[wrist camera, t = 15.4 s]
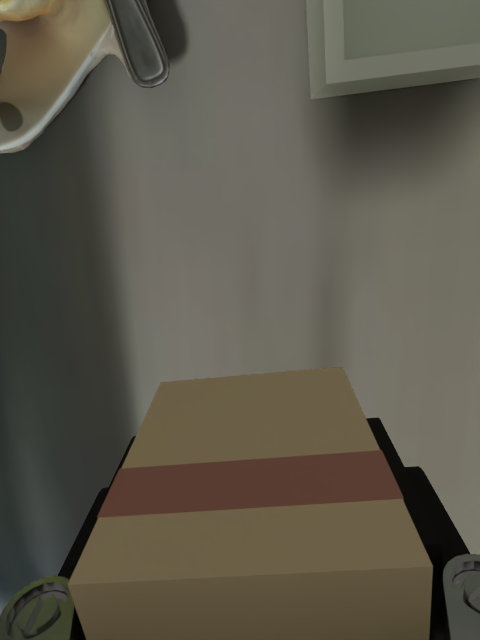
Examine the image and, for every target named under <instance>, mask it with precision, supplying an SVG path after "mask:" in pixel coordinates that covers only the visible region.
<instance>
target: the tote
mask: <svg viewBox="0 0 480 640" xmlns="http://www.w3.org/2000/svg"><path fill="white" fill-rule="evenodd" d="M306 15H307V36H308V56H309V77H310V98H311V99H318V98H326V97H334V96H342V95H350V94H358V93H366V92H374V91H381V90H389V89H397V88H405V87H413V86H421V85H429V84H437V83H444V82H452V81H460V80H468V79H476V78H480V0H306Z"/></svg>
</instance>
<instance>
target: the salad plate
mask: <svg viewBox="0 0 480 640" xmlns="http://www.w3.org/2000/svg"><path fill="white" fill-rule="evenodd" d="M0 29H2V30H3V31H4V32H5V33H6V35H7V48H6V56H5V60H4V63H3V66H2V72H1V75H0V153H14V152H18V151H21V150H24V149H25V148H27V147H28V146H29V145H30V144H31V143H32V142H33V141H35V140H36V139H37V138H38V137H39V136H40V135H41V134H42V133H43V131H44V130H45V129H46V128H47V127H48V125H49V124H50V123H51V122H52V121H53V120H54V119H55V117H56V116H57V115H58V114H59V113H60V112H61V110H62V109H63V108H64V107H65V106H66V104H67V103H68V102H69V100H70V99H71V98H72V97H73V96H74V94H75V93H76V92H77V90H78V89H79V87H80V85H81V84H82V82H83V80H84V79H85V77H86V76H87V75H88V74H89V73H90V71H91V70H92V69H93V68H94V67H96V65H97V64H98V63H99V62H100V61H101V60H102V59H103V58H104V57H105V56H107V55H109V54H115V55H116V56H117V57H118V58H119V59H120V60H121V61H122V62H123V64H124V66H125V68H126V71H127V73H128V76H129V77H130V78H131V79H132V80H133V81H134V82H135V83H136V84H137V85H138V86H140V87H143V88H153V87H156V86H158V85H160V84H162V83H164V82H165V81H166V79H167V78H168V74H169V61H168V57H167V54H166V52H165V50H164V47H163V45H162V42H161V40H160V37H159V34H158V32H157V30H156V28H155V25H154V22H153V20H152V18H151V15H150V12H149V9H148V6H147V2H146V0H0Z"/></svg>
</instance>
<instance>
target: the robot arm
mask: <svg viewBox="0 0 480 640" xmlns="http://www.w3.org/2000/svg"><path fill="white" fill-rule="evenodd" d="M366 420H367V422H368V424H369V426H370V429H371V431H372V433H373V435H374V437H375V440H376V442H377V444H378V446H379V449H380V450H382V452H383V454H384V456H385V458H386V460H387V463H388V465H389V467H390V469H391V471H392V473H393V476H394V478H395V480H396V482H397V484H398V487H399V489H400V491H401V493H402V495H403V497H404V504H405V506H406V508H407V510H408V512H409V515H410V517H411V519H412V521H413V523H414V526H415V528H416V530H417V532H418V534H419V537H420V539H421V541H422V543H423V545H424V548H425V550H426V552H427V554H428V556H429V559H430V561H431V563H432V565H433V576H432V595H431V614H430V633H429V640H480V555H475V554H470V552H469V550H468V549H467V547H466V545H465V543H464V542H463V540H462V538H461V536H460V535H459V533H458V531H457V529H456V528H455V526H454V524H453V522H452V520H451V519H450V517H449V515H448V513H447V512H446V510H445V508H444V506H443V505H442V503H441V501H440V499H439V498H438V496H437V494H436V492H435V491H434V489H433V487H432V485H431V484H430V482H429V480H428V478H427V476H426V475H425V473H424V471H423V470H422V469H421V468H420V467H419V466H417V467H404V465H403V463H402V461H401V459H400V457H399V456H398V454H397V452H396V450H395V448H394V446H393V444H392V442H391V440H390V438H389V436H388V434H387V432H386V430H385V428H384V426H383V424H382V422H381V420H380V419H379V418H367V419H366ZM135 438H136V436H134V437H133V438H132V439H131V441H130V443H129V446H128V448H127V450H126V452H125V454H124V456H123V458H122V460H121V462H120V465H119V467H118V469H117V471H116V473H115V475H114V477H113V479H112V481H111V484H110V486H109V487H107V488H103V489H101V491H100V492H99V494H98V495H97V497H96V499H95V501H94V503H93V506H92V508H91V510H90V512H89V514H88V516H87V518H86V520H85V522H84V524H83V526H82V528H81V530H80V532H79V534H78V536H77V538H76V540H75V542H74V544H73V546H72V548H71V550H70V552H69V554H68V556H67V558H66V560H65V562H64V564H63V566H62V568H61V570H60V572H59V574H58V576H50V577H44V578H42V579H39V580H37V581H34V582H32V583H31V584H29V585H28V586H26V587H25V588H23V589H21V590H20V591H19V592H18V593H17V594H16V595H15V596H14V597H13V598H12V599H11V600H10V601H9V603H8V604H7V605H6V606H5V608H4V609H3V611H2V613H1V615H0V640H86V637H85V634H84V631H83V628H82V625H81V623H80V620H79V617H78V614H77V611H76V608H75V605H74V602H73V599H72V596H71V593H70V591H69V588H68V583H69V581H70V578H71V576H72V574H73V572H74V570H75V568H76V565H77V563H78V561H79V559H80V557H81V555H82V552H83V550H84V548H85V546H86V544H87V542H88V539H89V537H90V535H91V533H92V531H93V529H94V526H95V524H96V522H97V520H98V518H97V516H98V514H99V512H100V510H101V507H102V505H103V503H104V501H105V499H106V497H107V495H108V492H109V490H110V488H111V486H112V484H113V482H114V480H115V477H116V475H117V473H118V471H119V469H121V468H122V466H123V464H124V461H125V459H126V457H127V455H128V453H129V451H130V448H131V446H132V444H133V442H134V440H135Z"/></svg>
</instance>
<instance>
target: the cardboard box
mask: <svg viewBox="0 0 480 640" xmlns="http://www.w3.org/2000/svg"><path fill="white" fill-rule="evenodd" d="M97 518H98V520H97V522H96V524H95V526H94V529H93V531H92V533H91V535H90V537H89V539H88V542H87V544H86V546H85V548H84V550H83V552H82V555H81V557H80V559H79V561H78V563H77V565H76V568H75V570H74V572H73V574H72V576H71V578H70V581H69V583H68V588H69V591H70V593H71V596H72V599H73V602H74V605H75V608H76V611H77V614H78V617H79V620H80V623H81V625H82V628H83V631H84V634H85V637H86V640H429V633H430V614H431V595H432V576H433V565H432V563H431V561H430V559H429V556H428V554H427V552H426V550H425V548H424V545H423V543H422V541H421V539H420V537H419V534H418V532H417V530H416V528H415V526H414V523H413V521H412V519H411V517H410V515H409V512H408V510H407V508H406V506H405V504H404V497H403V495H402V493H401V491H400V489H399V487H398V484H397V482H396V480H395V478H394V476H393V473H392V471H391V469H390V467H389V465H388V463H387V460H386V458H385V456H384V454H383V452H382V450H380V449H379V446H378V444H377V442H376V440H375V437H374V435H373V433H372V431H371V429H370V426H369V424H368V422H367V420H366V418H365V415H364V413H363V411H362V409H361V407H360V404H359V402H358V400H357V398H356V396H355V393H354V391H353V389H352V387H351V385H350V382H349V380H348V378H347V376H346V374H345V371H344V369H343V367H334V368H322V369H310V370H299V371H287V372H276V373H264V374H252V375H241V376H229V377H218V378H206V379H194V380H183V381H171V382H161V383H160V386H159V388H158V390H157V392H156V394H155V396H154V399H153V401H152V403H151V405H150V407H149V409H148V412H147V414H146V416H145V418H144V420H143V422H142V425H141V427H140V429H139V431H138V433H137V435H136V438H135V440H134V442H133V444H132V446H131V448H130V451H129V453H128V455H127V457H126V459H125V461H124V464H123V466H122V468H121V469H119V471H118V473H117V475H116V477H115V480H114V482H113V484H112V486H111V488H110V490H109V492H108V495H107V497H106V499H105V501H104V503H103V505H102V507H101V510H100V512H99V514H98V516H97Z"/></svg>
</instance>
